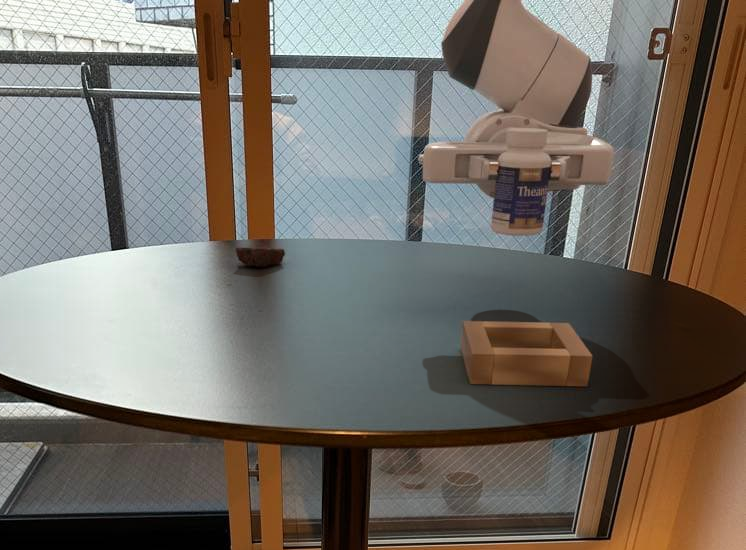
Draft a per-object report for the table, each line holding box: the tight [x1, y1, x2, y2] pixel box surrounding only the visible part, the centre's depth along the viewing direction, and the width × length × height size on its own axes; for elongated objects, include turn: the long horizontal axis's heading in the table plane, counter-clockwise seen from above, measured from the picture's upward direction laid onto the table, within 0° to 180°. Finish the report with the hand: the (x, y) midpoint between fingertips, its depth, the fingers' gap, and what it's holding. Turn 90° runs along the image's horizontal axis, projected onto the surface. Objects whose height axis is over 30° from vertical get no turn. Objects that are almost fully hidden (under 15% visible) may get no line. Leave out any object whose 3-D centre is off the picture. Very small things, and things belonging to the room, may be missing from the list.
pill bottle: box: [490, 128, 551, 237], centre depth 83 cm, size 5×5×10 cm
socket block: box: [460, 320, 593, 388], centre depth 79 cm, size 11×11×3 cm
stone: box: [235, 246, 286, 268], centre depth 119 cm, size 7×7×3 cm
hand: (525, 171), depth 81 cm, fingers closed on pill bottle, 5 cm apart
